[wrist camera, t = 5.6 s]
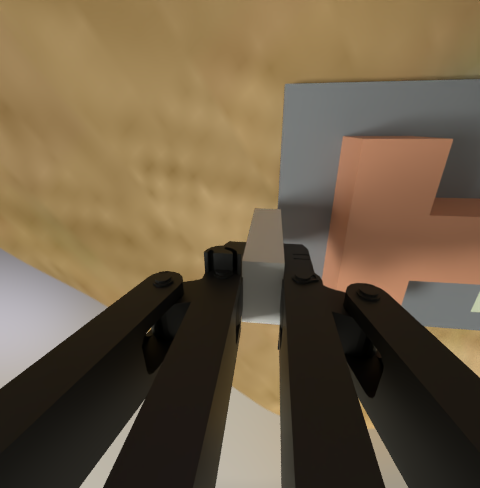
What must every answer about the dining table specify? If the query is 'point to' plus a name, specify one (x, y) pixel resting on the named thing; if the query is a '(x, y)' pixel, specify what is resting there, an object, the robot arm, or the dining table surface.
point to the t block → (398, 218)
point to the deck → (378, 124)
